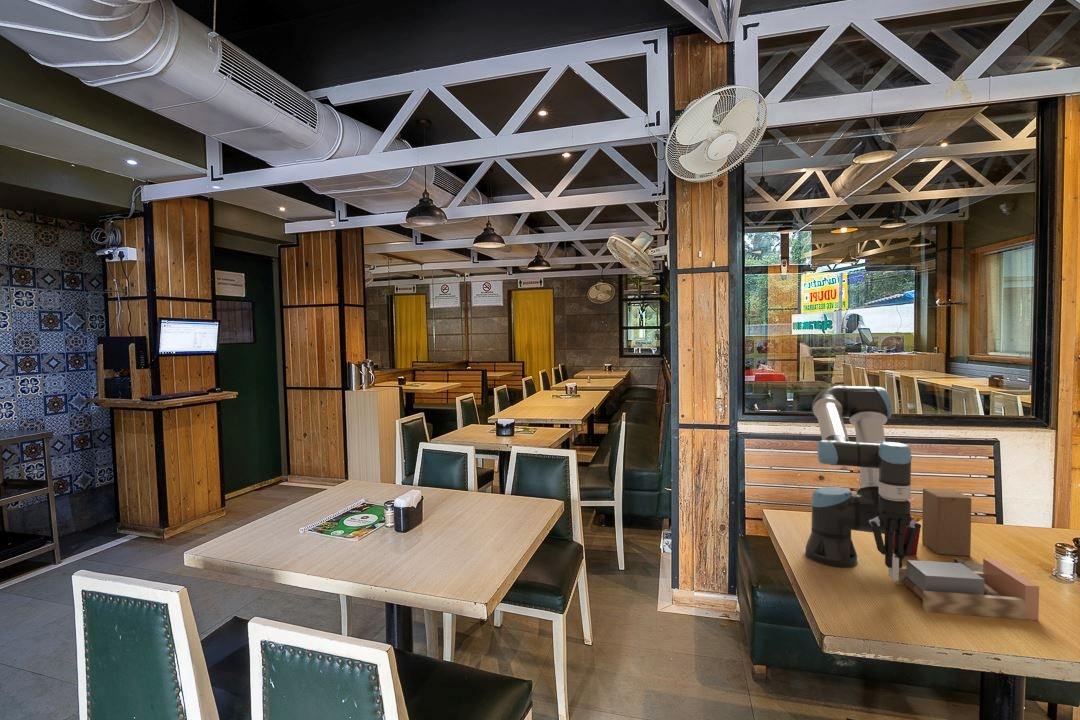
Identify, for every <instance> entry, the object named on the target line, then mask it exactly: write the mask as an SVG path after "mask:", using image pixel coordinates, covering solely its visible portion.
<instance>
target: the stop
mask: <svg viewBox="0 0 1080 720" xmlns="http://www.w3.org/2000/svg"><path fill="white" fill-rule="evenodd" d="M982 561H983V562H982V565H983V572H984V573H986V584H987V585H988V586H990V587H991V588H992V589H994V590H995V591H997V592H998V593H999V594H1001V595H1002V596H1005V597H1019V598H1022V599H1024V600H1025V619H1024V620H1030V621H1039V615H1040V614H1039V612H1040V611H1039V610H1040V608H1039V607H1040V606H1039V605H1040V604H1039V603H1040V586H1039V585H1038V584H1037V583H1034V582H1033V581H1031V580H1029V579H1028V578H1026V577H1025V576H1023V575H1022V574H1020V573H1018V572H1016V571H1015V570H1013V569H1012V568H1010V567H1008V566H1007V565H1006V564H1004V563H1002V562H1000V561H999V560H997V559H996V558H983V559H982Z"/></svg>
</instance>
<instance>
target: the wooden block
mask: <svg viewBox="0 0 1080 720" xmlns="http://www.w3.org/2000/svg"><path fill="white" fill-rule="evenodd" d="M921 516H922V517H921V521H922V523H921V528H922V529H921V533H922V535H921V543H922V544H923V545H924V546H926V547H927V548H929V549H930V550H931V551H932V552H934V553H935V554H937V555H947V556H962V557H971V552H972V551H971V547H972V544H971V543H972V542H971V541H972V539H971V538H972V498H971V497H969V496H967V495H966V494H963V493H961V492H959V491H957V490H955V489H952V488H951V489H948V488H947V489H946V488H945V489H944V488H922V515H921Z"/></svg>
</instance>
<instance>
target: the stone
mask: <svg viewBox="0 0 1080 720" xmlns="http://www.w3.org/2000/svg"><path fill="white" fill-rule="evenodd" d="M953 563H961V564H963V565H964V566H966V567H967V568H969V569H970V570H972V571H978V572H983V563H979V562H974V561H972V560H967V559H964V558H963V559H962V558H960V557H954V561H953Z"/></svg>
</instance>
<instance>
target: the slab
mask: <svg viewBox="0 0 1080 720" xmlns="http://www.w3.org/2000/svg"><path fill="white" fill-rule="evenodd" d="M906 567H907V577H908V578H909V579H910V580H911V581H912V582H913V583H915V584H916V585H917V586H918V587H919V588H920V589H921V590H922V591H935V592H949V593H963V594H977V595H984V579H983V578H982V577H980V576H979V575H977V574H976V573H974V572H973V571H972V570H970V569H969V568H967V567H966V566H964V565H963V564H961V563H954V562H947V561H946V562H945V561H935V560H932V561H931V560H913V559H906Z"/></svg>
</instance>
